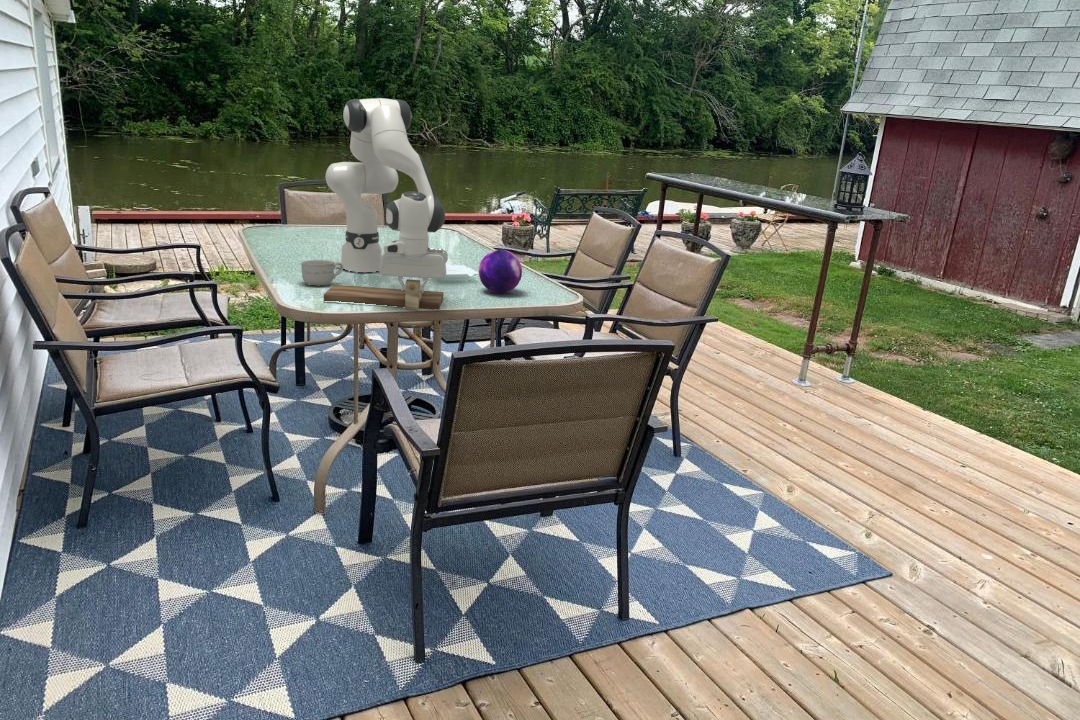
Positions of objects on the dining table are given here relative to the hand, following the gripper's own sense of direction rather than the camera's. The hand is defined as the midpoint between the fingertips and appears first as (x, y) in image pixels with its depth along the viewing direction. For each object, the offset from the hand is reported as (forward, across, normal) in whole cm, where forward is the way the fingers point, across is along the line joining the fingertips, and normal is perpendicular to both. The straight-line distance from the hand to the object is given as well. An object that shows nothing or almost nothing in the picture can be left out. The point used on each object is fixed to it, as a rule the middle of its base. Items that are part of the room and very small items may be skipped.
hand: (412, 291), depth 249 cm
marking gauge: (+6, 0, -6) cm, 9 cm away
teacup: (+6, +34, -26) cm, 43 cm away
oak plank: (+6, +10, -9) cm, 14 cm away
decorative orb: (+6, -26, -31) cm, 41 cm away
